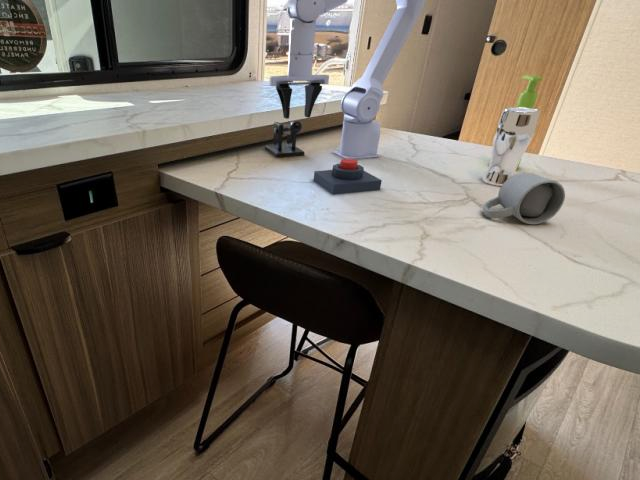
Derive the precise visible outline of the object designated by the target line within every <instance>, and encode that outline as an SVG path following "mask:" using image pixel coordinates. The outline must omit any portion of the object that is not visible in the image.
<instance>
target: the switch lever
mask: <svg viewBox="0 0 640 480" xmlns="http://www.w3.org/2000/svg"><path fill="white" fill-rule="evenodd" d="M292 122H293V123H292V124H291V125H288V124H282V125H283V133H282V136H287V135H289V134H291V131H292V132H293V133H294V134H296V135H297V134H299V133H301V132H302V130H303V124H302V122H301V121H299V120H294V121H292Z"/></svg>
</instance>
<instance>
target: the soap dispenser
mask: <svg viewBox="0 0 640 480" xmlns="http://www.w3.org/2000/svg"><path fill="white" fill-rule="evenodd" d="M521 79H522V80H529V81H528V83H527V86H526V89H525V90H524V91H523V92H520V94H519V98H518V100H517V104H516V106H515V107H525V108H533V109H534V106H535V103H536V101H537V98H538V95H539V93H537V91H536V88H537V86H538V82H542V81H543V77H541V76H539V75H523V76H521ZM521 161H522V158H521V159H520V161H519V163H518V165H517V168H516V171H517V170H518V169H519V166H520V163H521Z"/></svg>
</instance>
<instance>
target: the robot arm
mask: <svg viewBox="0 0 640 480" xmlns="http://www.w3.org/2000/svg"><path fill="white" fill-rule="evenodd" d="M348 1H349V0H289V2H288V6H286V12H287V16H288V18H289V20H290V28H289V29H290V30H289V42H288V43H289V44H288V63H287V64H288V65H287V66H288V67H287V75H286V74H285V75H272V76H271V75H270V76H269V82H268V83H269V84H268V85H269V87H275V89H276V92H277V94H278V97H279V101H280V104H281V108H282V114H283V115H282V116H283V119H286V120H288V119H290V112H291V99H292V94H293V88H291V86H304V94H305V95H304V97H305V99H304V100H305V103H304V117H305V118H311V115H312V112H313V109H314V106H315V104H316V101H317V99H318V97H319V95H320V94H321V92H322V90H323V85H329V81H330V75H328V74H313V64H314V63H313V62H314V53H315V52H314V50H315V40H316V27H317V26H316V25H317V20H318V18H319V17H320V16H322V15H324V14H326V13H328V12H331V11H332V10H334V9H336V8H338V7H340V6H343V5H345V4H346V3H347V2H348ZM395 3H396V10H395V12H394V14H393V16H392V17H391V20H390V22H389V24H388V25H387V28H386V30H384V31H385V32H384V34H383V36H382V37H381V39H380V41H379V43H378V45H377V46H376V49H375V51H374V52H373V55H372V57H371V59H370V60H369V63H368V65H367V66H366V69H365V71H364V72H363V74H362V76H360V77H359V78H358V79H357V80H356V81H354V83H353V84H352V86H351V88H350V89H349V90H348V91H347V92H346V93H345V94H344V95H343V97H342V99H341V101H340V102H341V103H340V109H341V111H342V113H343V121H342V130H341V137H340V146H339V150H333V154H335V155H337V156H339V157H341V158H342V159H355V160H359V159H372V158H379V155H378V150H379V149H378V148H379V144H380V137H381V124H380V122H379V121H378V120H376V119H375V118H376V117H377V116H378V114H379V111H380V108H381V107H380V106H381V102H382V99H383V98H384V95H385V94H384V89H383V85H384V83H385V81H386V79H387V77H388V75H389V73H390V71H391V70H392V68H393V66H394V64H395V62H396V60H397V58H398V56H399V55H400V53H401V51H402V49H403V48H404V46H405V43H406V42H407V40H408V38H409V36H410V34H411V32H412V31H413V29H414V27H415V25H416V23H417V21H418V20H419V18H420V16H421V14H422V12H423V10H424V8H425V5H426V4H425V3H426V0H395Z"/></svg>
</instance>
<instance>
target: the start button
mask: <svg viewBox="0 0 640 480" xmlns="http://www.w3.org/2000/svg"><path fill="white" fill-rule="evenodd" d="M358 163H359V161H358V159H344V158H341V159H340V162H339V164H340V169H344V170H356V169H357V165H358Z"/></svg>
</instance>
